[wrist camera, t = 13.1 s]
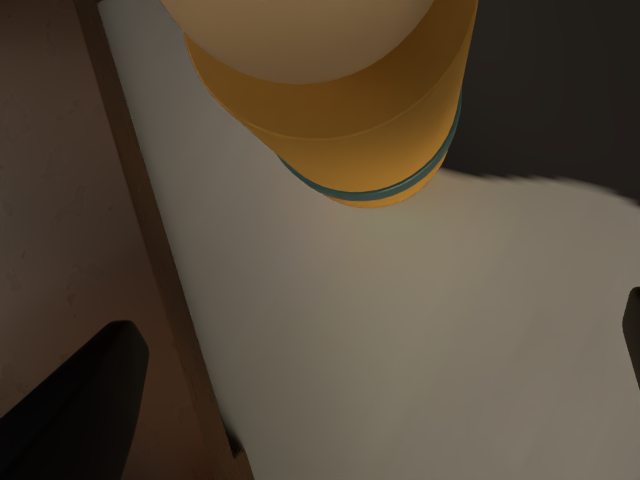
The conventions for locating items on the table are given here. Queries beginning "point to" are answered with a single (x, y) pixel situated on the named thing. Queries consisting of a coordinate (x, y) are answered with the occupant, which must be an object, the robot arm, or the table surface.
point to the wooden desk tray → (92, 240)
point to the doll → (338, 84)
